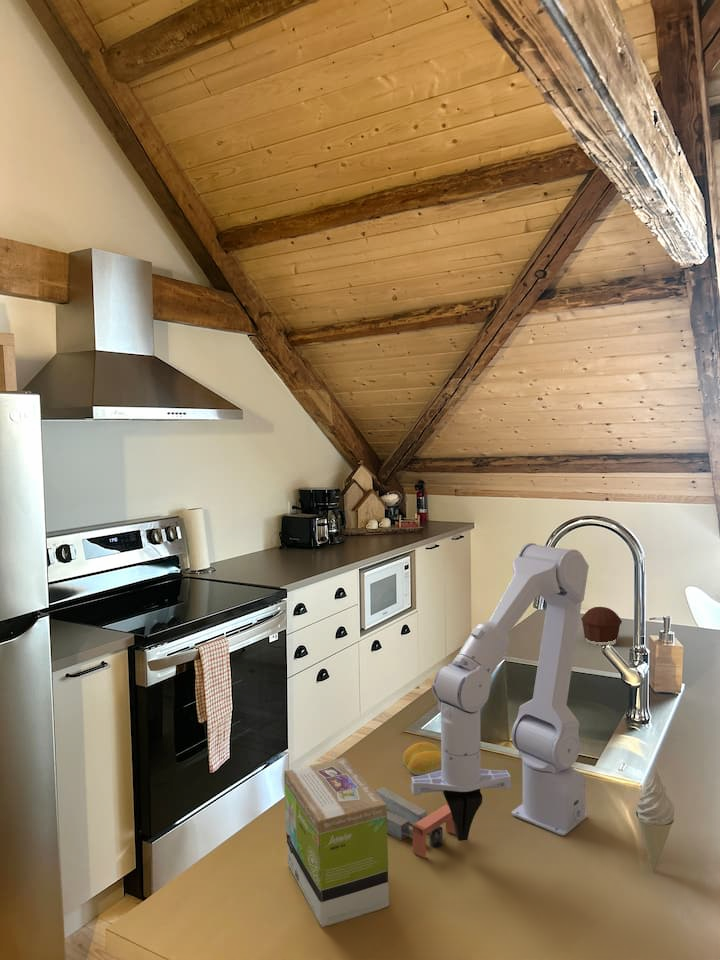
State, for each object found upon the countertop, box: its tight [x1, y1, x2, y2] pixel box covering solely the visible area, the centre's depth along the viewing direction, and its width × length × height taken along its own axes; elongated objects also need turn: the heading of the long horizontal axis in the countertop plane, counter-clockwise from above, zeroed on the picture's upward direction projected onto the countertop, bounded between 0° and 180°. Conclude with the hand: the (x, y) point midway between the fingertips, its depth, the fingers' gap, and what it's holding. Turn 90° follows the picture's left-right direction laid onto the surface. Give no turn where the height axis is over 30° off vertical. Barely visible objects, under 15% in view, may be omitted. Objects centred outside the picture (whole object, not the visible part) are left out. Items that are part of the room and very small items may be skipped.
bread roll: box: [402, 741, 442, 776], centre depth 136 cm, size 8×9×4 cm
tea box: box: [283, 757, 390, 928], centre depth 100 cm, size 15×10×15 cm, turn 23°
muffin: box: [580, 606, 623, 642], centre depth 211 cm, size 12×11×10 cm
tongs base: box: [387, 810, 444, 849], centre depth 115 cm, size 16×4×2 cm, turn 46°
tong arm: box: [374, 786, 428, 826], centre depth 118 cm, size 14×2×2 cm, turn 39°
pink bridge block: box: [412, 802, 456, 858], centre depth 110 cm, size 2×9×4 cm, turn 136°
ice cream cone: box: [635, 768, 675, 873], centre depth 102 cm, size 5×5×15 cm
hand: (461, 836), depth 107 cm, fingers closed
